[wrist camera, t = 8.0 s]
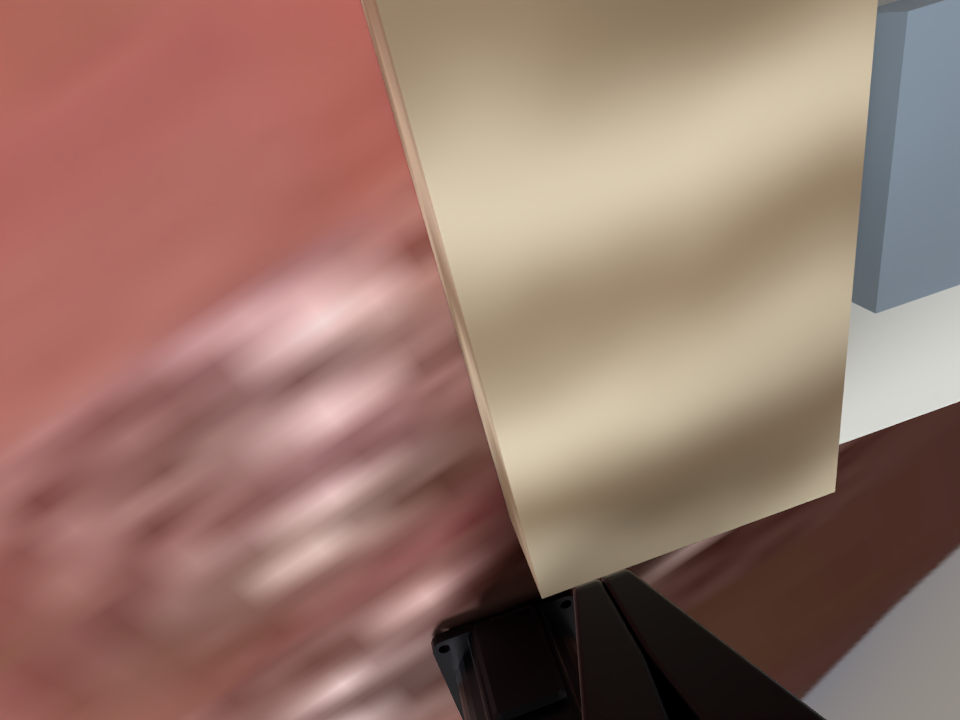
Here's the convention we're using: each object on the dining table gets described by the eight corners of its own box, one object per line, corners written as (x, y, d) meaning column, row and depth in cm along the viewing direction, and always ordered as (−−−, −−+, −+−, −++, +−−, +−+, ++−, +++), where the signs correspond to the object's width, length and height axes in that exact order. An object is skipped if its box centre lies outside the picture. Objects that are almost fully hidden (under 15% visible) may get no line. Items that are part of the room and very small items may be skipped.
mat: (1017, 374, 27) (1024, 377, 26) (773, 462, 26) (777, 466, 25) (1227, -431, 15) (1243, -439, 15) (787, -327, 14) (796, -335, 14)
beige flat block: (763, 429, 25) (834, 491, 21) (510, 518, 24) (542, 599, 20) (766, -209, 15) (903, -286, 11) (332, -99, 14) (334, -148, 10)
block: (875, 313, 20) (831, 292, 22) (1031, 259, 21) (976, 243, 22) (908, 11, 16) (849, 14, 17) (1105, -48, 16) (1030, -39, 18)
